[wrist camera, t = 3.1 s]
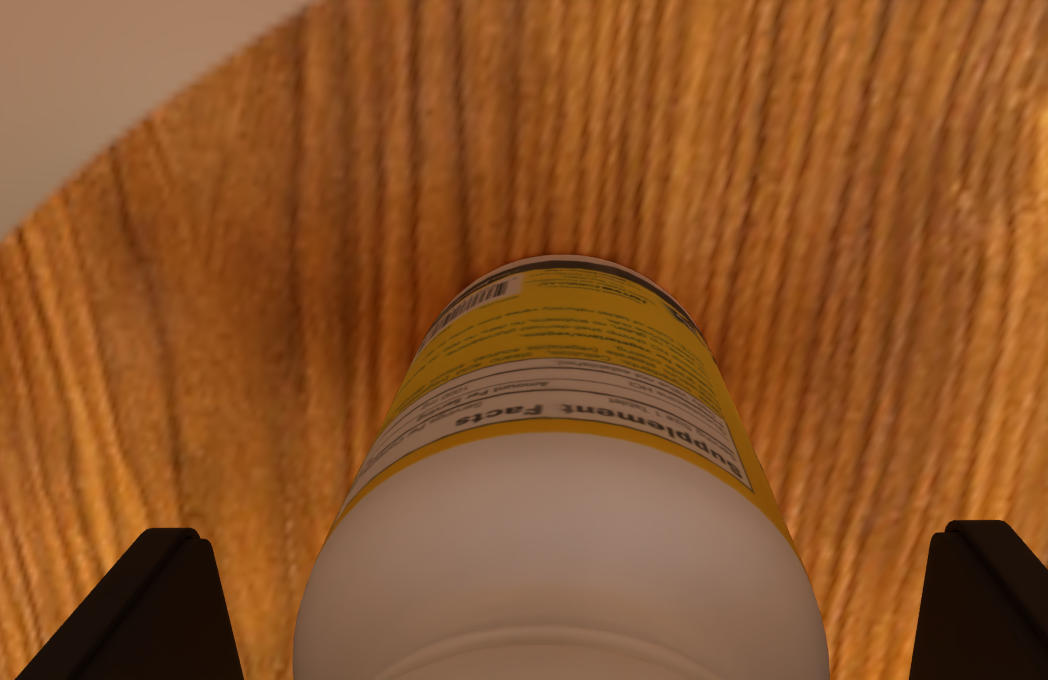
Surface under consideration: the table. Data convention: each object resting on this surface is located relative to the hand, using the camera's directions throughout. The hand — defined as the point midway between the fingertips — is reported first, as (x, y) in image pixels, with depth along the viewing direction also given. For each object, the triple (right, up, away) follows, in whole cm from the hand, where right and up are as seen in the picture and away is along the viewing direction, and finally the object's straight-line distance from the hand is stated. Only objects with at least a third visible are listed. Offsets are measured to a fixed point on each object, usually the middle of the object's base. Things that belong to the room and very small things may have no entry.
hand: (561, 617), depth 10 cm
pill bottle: (0, +3, +6) cm, 7 cm away
